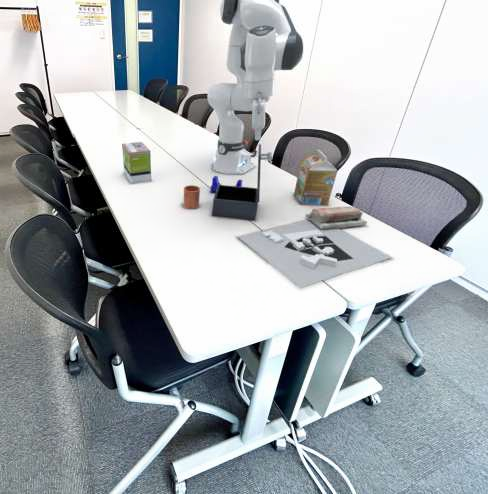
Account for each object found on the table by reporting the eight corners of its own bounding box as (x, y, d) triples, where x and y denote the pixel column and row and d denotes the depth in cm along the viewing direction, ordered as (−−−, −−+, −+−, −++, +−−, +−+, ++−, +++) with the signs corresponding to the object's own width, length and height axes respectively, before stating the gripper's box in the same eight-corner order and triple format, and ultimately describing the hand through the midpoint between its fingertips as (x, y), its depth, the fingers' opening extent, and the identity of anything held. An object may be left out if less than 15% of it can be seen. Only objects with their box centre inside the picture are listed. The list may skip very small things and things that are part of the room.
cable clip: (210, 192, 143) (211, 179, 140) (213, 189, 147) (214, 175, 144) (238, 197, 139) (239, 183, 136) (240, 193, 142) (242, 180, 139)
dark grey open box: (212, 216, 125) (213, 199, 121) (216, 200, 137) (217, 184, 133) (255, 220, 121) (257, 203, 118) (255, 204, 133) (258, 188, 130)
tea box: (123, 173, 164) (121, 142, 156) (143, 171, 167) (142, 141, 159) (130, 184, 152) (128, 151, 144) (151, 181, 155) (151, 149, 147)
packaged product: (325, 217, 111) (307, 205, 120) (321, 230, 114) (304, 217, 122) (371, 213, 115) (351, 201, 123) (366, 226, 117) (347, 213, 126)
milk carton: (293, 193, 142) (303, 148, 132) (319, 194, 141) (331, 149, 131) (300, 204, 133) (311, 157, 123) (327, 205, 132) (341, 157, 122)
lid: (258, 156, 109) (273, 155, 108) (258, 144, 121) (272, 143, 120) (256, 202, 118) (270, 202, 116) (257, 187, 129) (269, 186, 128)
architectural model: (317, 218, 123) (319, 212, 122) (390, 258, 100) (393, 252, 99) (237, 237, 111) (238, 232, 110) (300, 288, 89) (301, 281, 88)
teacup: (191, 200, 136) (191, 184, 132) (202, 205, 132) (203, 188, 128) (180, 205, 133) (180, 188, 129) (191, 210, 129) (191, 192, 125)
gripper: (271, 96, 94) (268, 145, 102) (269, 81, 109) (267, 124, 117) (247, 98, 95) (247, 146, 103) (249, 83, 111) (248, 125, 119)
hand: (257, 134), depth 110 cm, fingers open, 8 cm apart
